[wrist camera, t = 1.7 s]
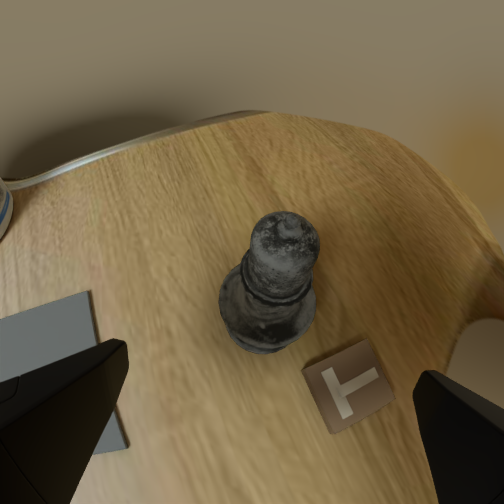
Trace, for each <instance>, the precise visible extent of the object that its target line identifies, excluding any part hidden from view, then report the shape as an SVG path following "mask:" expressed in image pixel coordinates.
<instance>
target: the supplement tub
mask: <svg viewBox="0 0 504 504" xmlns="http://www.w3.org/2000/svg"><path fill="white" fill-rule="evenodd" d="M12 211H13V198H12V195H11V192H10V191H9V189H8V188H7V186H6V185H5V183H4V182H3V180H2V179H1V177H0V239H1V237H2V236H3V234H4V232H5V231H6V229H7V227H8V224H9V222H10V219H11V216H12Z"/></svg>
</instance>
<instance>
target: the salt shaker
mask: <svg viewBox="0 0 504 504" xmlns="http://www.w3.org/2000/svg"><path fill="white" fill-rule="evenodd" d="M319 250H320V241H319V236H318V234H317V231H316V230H315V228H314V227H313V225H312V224H311V223H310V222H309V221H307V220H306V219H305V218H304V217H302V216H300V215H298V214H296V213H293V212H287V211H280V212H273V213H270V214H268V215H266V216H264V217H263V218H261V219H260V220H259V221H258V223H257V224H256V225H255V227H254V229H253V232H252V234H251V241H250V249H249V250H248V251H247V252H246V253H245V255H244V256H243V258H242V261H241V263H240V264H239V265H238V266H236V267H235V268H234V269H232V270H231V271H230V273H229V274H228V275H227V276H226V278H225V279H224V281H223V284H222V286H221V289H220V294H219V307H220V313H221V316H222V318H223V320H224V322H225V325H226V328H227V330H228V332H229V334H230V336H231V338H232V339H233V340H234V341H235V342H236V344H237V345H239V346H240V347H242V348H243V349H245V350H247V351H250V352H253V353H256V354H269V353H274V352H277V351H279V350H281V349H283V348H285V347H286V346H287V345H288V344H290V343H292V342H294V341H296V340H298V339H299V338H300V337H301V336H302V335H303V334H304V333H305V332H306V331H307V330H308V328H309V326H310V325H311V323H312V321H313V319H314V315H315V311H316V296H315V293H314V289H313V286H312V282H313V270H312V268H313V266H314V264H315V262H316V260H317V258H318V254H319Z"/></svg>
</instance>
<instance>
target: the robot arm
mask: <svg viewBox="0 0 504 504" xmlns="http://www.w3.org/2000/svg"><path fill="white" fill-rule="evenodd" d="M128 369H129V360H128V350H127V344H126V342H125V341H123V340H119V339H114V338H113V339H110V340H107V341H105V342H102V343H100V344H98V345H95V346H93V347H90V348H88V349H85V350H83V351H80V352H78V353H75V354H73V355H70V356H68V357H65V358H63V359H60V360H58V361H55V362H52V363H50V364H47V365H45V366H42V367H40V368H37V369H34V370H32V371H29V372H27V373H24V374H21V375H20V376H16V377H13V378H11V379H8V380H5V381H2V382H0V504H70V502H71V500H72V498H73V495H74V493H75V491H76V489H77V486H78V484H79V482H80V480H81V478H82V475H83V473H84V471H85V469H86V467H87V465H88V462H89V460H90V458H91V456H92V454H93V452H94V450H95V448H96V446H97V444H98V442H99V439H100V437H101V435H102V433H103V431H104V429H105V427H106V425H107V423H108V421H109V419H110V417H111V415H112V413H113V411H114V408H115V405H116V403H117V400H118V397H119V394H120V392H121V389H122V386H123V383H124V381H125V378H126V375H127V373H128ZM413 401H414V406H415V411H416V415H417V420H418V425H419V430H420V435H421V438H422V442H423V445H424V449H425V452H426V456H427V459H428V463H429V466H430V470H431V474H432V478H433V482H434V486H435V490H436V494H437V498H438V502H439V504H504V409H502V408H501V407H499V406H497V405H496V404H494V403H492V402H490V401H488V400H487V399H485V398H483V397H481V396H480V395H478V394H476V393H474V392H472V391H471V390H469V389H467V388H465V387H463V386H462V385H460V384H458V383H456V382H455V381H453V380H451V379H449V378H448V377H446V376H444V375H443V374H441V373H439V372H437V371H435V370H426V371H424V372H423V373H422V374H421V376H420V378H419V380H418V382H417V384H416V386H415V388H414V390H413Z"/></svg>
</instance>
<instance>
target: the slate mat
mask: <svg viewBox="0 0 504 504" xmlns="http://www.w3.org/2000/svg"><path fill="white" fill-rule="evenodd" d="M95 345H98V341H97V337H96V332H95V326H94V321H93V315H92V309H91V303H90V297H89V292H88V291H85V292H82V293H78V294H75V295H72V296H69V297H66V298H63V299H60V300H57V301H54V302H51V303H48V304H45V305H42V306H39V307H36V308H33V309H30V310H27V311H24V312H21V313H18V314H15V315H12V316H9V317H6V318H3V319H0V382H2V381H5V380H8V379H11V378H13V377H16V376H20V375H21V374H24V373H27V372H29V371H32V370H34V369H37V368H40V367H42V366H45V365H47V364H50V363H52V362H55V361H58V360H60V359H63V358H65V357H68V356H70V355H73V354H75V353H78V352H80V351H83V350H85V349H88V348H90V347H93V346H95ZM123 449H128V447H127V444H126V441H125V438H124V435H123V433H122V430H121V427H120V424H119V421H118V417H117V414H116V411H115V408H114V411H113V413H112V415H111V417H110V419H109V421H108V423H107V425H106V427H105V429H104V431H103V433H102V435H101V437H100V439H99V442H98V444H97V446H96V448H95V450H94V452H93V454H100V453H106V452H112V451H118V450H123ZM93 454H92V455H93Z"/></svg>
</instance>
